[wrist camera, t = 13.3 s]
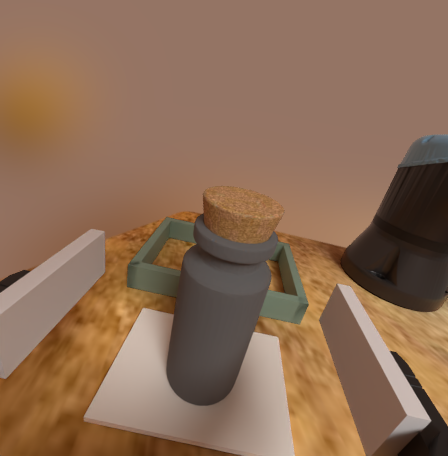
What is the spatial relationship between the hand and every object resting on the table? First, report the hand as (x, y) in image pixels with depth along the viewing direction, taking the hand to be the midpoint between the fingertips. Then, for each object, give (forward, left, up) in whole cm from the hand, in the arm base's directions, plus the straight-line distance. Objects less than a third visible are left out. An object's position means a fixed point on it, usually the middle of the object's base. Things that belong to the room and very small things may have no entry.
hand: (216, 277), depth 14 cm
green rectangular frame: (-1, -17, -11) cm, 21 cm away
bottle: (-1, -2, -11) cm, 11 cm away
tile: (-1, -2, -11) cm, 12 cm away
